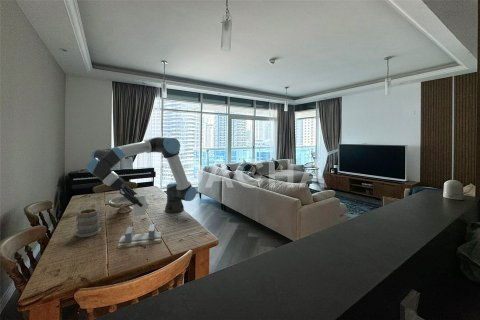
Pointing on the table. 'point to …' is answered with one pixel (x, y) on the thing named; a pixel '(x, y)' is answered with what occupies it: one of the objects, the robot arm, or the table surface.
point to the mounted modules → (130, 233)
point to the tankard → (88, 222)
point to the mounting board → (140, 240)
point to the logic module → (136, 208)
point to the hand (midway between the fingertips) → (146, 207)
